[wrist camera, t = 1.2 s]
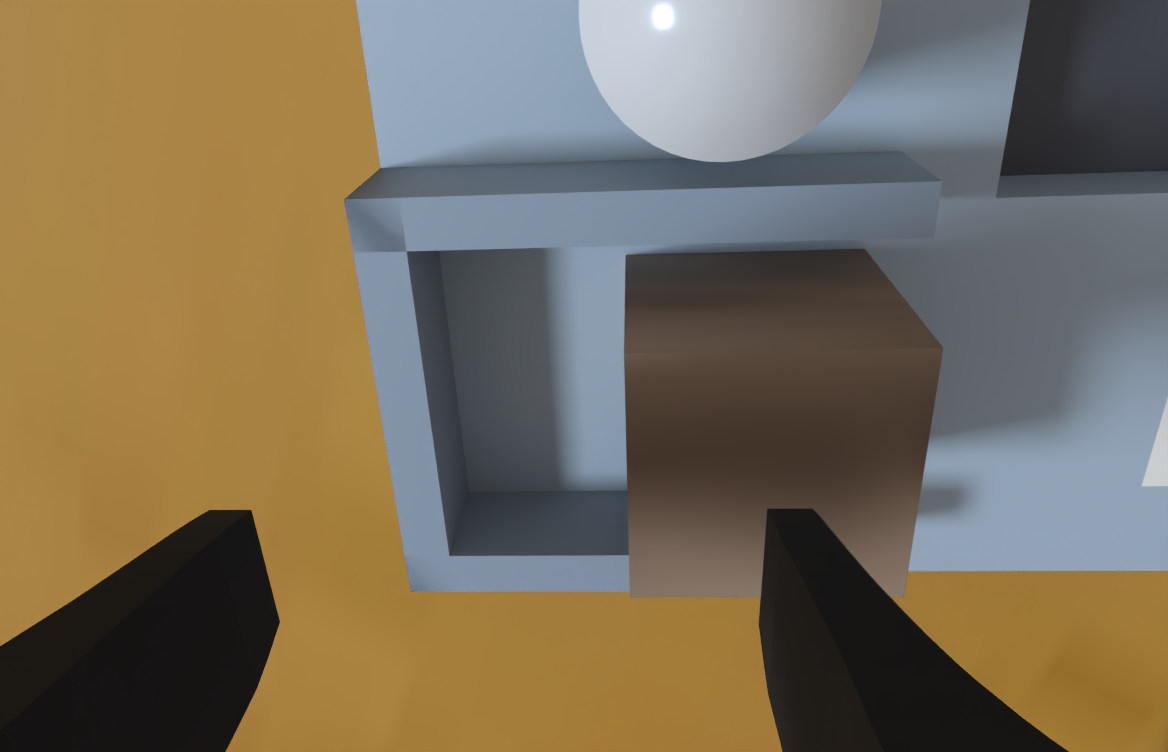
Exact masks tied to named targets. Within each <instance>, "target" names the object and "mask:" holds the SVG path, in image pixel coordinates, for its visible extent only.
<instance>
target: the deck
mask: <svg viewBox="0 0 1168 752" xmlns="http://www.w3.org/2000/svg"><path fill="white" fill-rule="evenodd" d="M356 4H357V11H358V18H359V25H360V31H361V38H362V45H363V52H364V58H365V65H366V72H367V79H368V85H369V92H370V99H371V106H372V112H373V119H374V126H375V133H376V139H377V146H378V153H379V160H380V166H381V168H380V169H379V170H378V171H377V172H376V173H375V174H373V175H372V176H371V177H370V178H369V179H368V180H366V181H365V182H364V183H363V184H362V185H361V186H359V187H358V188H357V189H356V190H355V191H354V192H352V193H351V194H350V195H349V196H348V197H347V198H345V199H344V201H345V207H346V213H347V219H348V225H349V230H350V236H351V242H352V248H353V254H354V260H355V266H356V272H357V278H358V283H359V289H360V295H361V301H362V307H363V313H364V319H365V325H366V331H367V336H368V342H369V348H370V354H371V360H372V366H373V372H374V378H375V384H376V389H377V395H378V401H379V407H380V413H381V419H382V425H383V431H384V437H385V443H386V448H387V454H388V460H389V466H390V472H391V478H392V484H393V490H394V496H395V501H396V507H397V513H398V519H399V525H400V531H401V537H402V543H403V549H404V554H405V560H406V566H407V572H408V578H409V584H410V590H411V592H453V591H630V582H629V541H628V500H627V459H626V418H625V377H624V319H625V257H626V255H642V254H681V253H720V252H759V251H798V250H837V249H865V250H866V251H867V252H868V254H869V255H870V256H871V257H872V259H873V260H874V261H875V262H876V264H877V265H878V266H879V267H880V269H881V270H882V271H883V272H884V274H885V275H886V276H887V277H888V279H889V280H890V281H891V282H892V284H893V285H894V286H895V287H896V289H897V290H898V291H899V292H900V294H901V295H902V296H903V298H904V299H905V300H906V301H907V303H908V304H909V305H910V306H911V308H912V309H913V310H914V311H915V313H916V314H917V315H918V316H919V318H920V319H921V320H922V321H923V323H924V324H925V325H926V326H927V328H928V329H929V330H930V331H931V333H932V334H933V335H934V336H935V338H936V339H937V340H938V342H939V343H940V344H941V345H942V347H943V354H942V361H941V367H940V373H939V379H938V386H937V392H936V398H935V405H934V411H933V417H932V424H931V430H930V436H929V443H928V449H927V455H926V462H925V468H924V474H923V480H922V487H921V493H920V499H919V506H918V512H917V518H916V525H915V531H914V537H913V544H912V550H911V556H910V563H909V569H908V571H1168V0H882V5H881V11H880V17H879V23H878V28H877V31H876V35H875V38H874V42H873V45H872V48H871V50H870V53H869V55H868V57H867V60H866V62H865V65H864V67H863V69H862V70H861V72H860V74H859V76H858V78H857V79H856V81H855V83H854V85H853V86H852V87H851V89H850V90H849V92H848V93H847V94H846V96H845V97H844V98H843V100H842V101H841V102H840V103H839V105H838V106H837V107H836V108H835V109H834V110H833V111H832V112H831V113H830V114H829V115H828V117H826V118H825V119H824V120H823V121H822V122H821V123H819V124H818V125H817V126H816V127H815V128H814V129H812V130H811V131H810V132H808V133H807V134H805V135H804V136H802V137H801V138H799V139H798V140H796V141H794V142H792V143H791V144H789V145H787V146H785V147H783V148H781V149H779V150H776V151H773V152H771V153H768V154H765V155H763V156H759V157H755V158H751V159H746V160H741V161H731V162H705V161H699V160H693V159H687V158H684V157H681V156H678V155H675V154H671V153H669V152H667V151H665V150H662V149H660V148H658V147H656V146H654V145H652V144H651V143H649V142H648V141H646V140H644V139H643V138H641V137H640V136H638V135H637V134H636V133H635V132H634V131H632V130H631V129H630V128H629V127H628V126H627V125H625V124H624V123H623V122H622V120H621V119H620V118H619V117H618V116H617V115H616V114H615V113H614V112H613V110H612V109H611V108H610V106H609V105H608V103H607V102H606V101H605V99H604V98H603V96H602V95H601V93H600V91H599V89H598V87H597V85H596V83H595V81H594V79H593V77H592V75H591V72H590V69H589V67H588V64H587V61H586V58H585V54H584V50H583V46H582V41H581V35H580V26H579V0H356Z"/></svg>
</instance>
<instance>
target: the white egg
mask: <svg viewBox="0 0 1168 752" xmlns="http://www.w3.org/2000/svg"><path fill="white" fill-rule="evenodd" d="M881 5H882V0H579V26H580V35H581V41H582V46H583V50H584V54H585V58H586V61H587V64H588V67H589V69H590V72H591V75H592V77H593V79H594V81H595V83H596V85H597V87H598V89H599V91H600V93H601V95H602V96H603V98H604V99H605V101H606V102H607V103H608V105H609V106H610V108H611V109H612V110H613V112H614V113H615V114H616V115H617V116H618V117H619V118H620V119H621V120H622V122H623V123H624V124H625V125H627V126H628V127H629V128H630V129H631V130H632V131H634V132H635V133H636V134H637V135H638V136H640V137H641V138H643V139H644V140H646V141H648V142H649V143H651V144H652V145H654V146H656V147H658V148H660V149H662V150H665V151H667V152H669V153H671V154H675V155H678V156H681V157H684V158H687V159H693V160H699V161H705V162H731V161H741V160H746V159H751V158H755V157H759V156H763V155H765V154H768V153H771V152H773V151H776V150H779V149H781V148H783V147H785V146H787V145H789V144H791V143H792V142H794V141H796V140H798V139H799V138H801V137H802V136H804V135H805V134H807V133H808V132H810V131H811V130H812V129H814V128H815V127H816V126H817V125H818V124H819V123H821V122H822V121H823V120H824V119H825V118H826V117H828V115H829V114H830V113H831V112H832V111H833V110H834V109H835V108H836V107H837V106H838V105H839V103H840V102H841V101H842V100H843V98H844V97H845V96H846V94H847V93H848V92H849V90H850V89H851V87H852V86H853V85H854V83H855V81H856V79H857V78H858V76H859V74H860V72H861V70H862V69H863V67H864V65H865V62H866V60H867V57H868V55H869V53H870V50H871V48H872V45H873V42H874V38H875V35H876V31H877V28H878V23H879V17H880V11H881Z"/></svg>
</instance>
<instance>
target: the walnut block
mask: <svg viewBox="0 0 1168 752" xmlns="http://www.w3.org/2000/svg"><path fill="white" fill-rule="evenodd" d="M942 354H943V347H942V345H941V344H940V343H939V342H938V340H937V339H936V338H935V336H934V335H933V334H932V333H931V331H930V330H929V329H928V328H927V326H926V325H925V324H924V323H923V321H922V320H921V319H920V318H919V316H918V315H917V314H916V313H915V311H914V310H913V309H912V308H911V306H910V305H909V304H908V303H907V301H906V300H905V299H904V298H903V296H902V295H901V294H900V292H899V291H898V290H897V289H896V287H895V286H894V285H893V284H892V282H891V281H890V280H889V279H888V277H887V276H886V275H885V274H884V272H883V271H882V270H881V269H880V267H879V266H878V265H877V264H876V262H875V261H874V260H873V259H872V257H871V256H870V255H869V254H868V252H867V251H866V250H865V249H837V250H798V251H759V252H720V253H681V254H642V255H626V257H625V319H624V377H625V418H626V459H627V500H628V541H629V582H630V597H761V588H762V574H763V560H764V546H765V532H766V518H767V509H811V508H813V509H814V510H815V511H816V512H817V513H818V514H819V515H820V516H821V518H822V519H823V520H824V521H825V523H826V524H827V525H828V526H829V527H830V529H831V530H832V531H833V532H834V533H835V535H836V536H837V537H838V538H839V539H840V541H841V542H842V543H843V544H844V545H845V547H846V548H847V549H848V550H849V551H850V553H851V554H852V555H853V556H854V557H855V558H856V560H857V561H858V562H859V563H860V564H861V565H862V566H863V568H864V569H865V570H866V571H867V572H868V573H869V574H870V576H871V577H872V578H873V579H874V580H875V581H876V582H877V583H878V584H879V586H880V587H881V588H882V589H883V590H884V591H885V592H886V593H887V594H888V595H889V596H890V597H904V594H905V588H906V581H907V575H908V569H909V563H910V556H911V550H912V544H913V537H914V531H915V525H916V518H917V512H918V506H919V499H920V493H921V487H922V480H923V474H924V468H925V462H926V455H927V449H928V443H929V436H930V430H931V424H932V417H933V411H934V405H935V398H936V392H937V386H938V379H939V373H940V367H941V361H942Z"/></svg>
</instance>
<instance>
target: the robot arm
mask: <svg viewBox="0 0 1168 752" xmlns="http://www.w3.org/2000/svg"><path fill="white" fill-rule="evenodd" d="M279 623H280V621H279V617H278V613H277V609H276V605H275V601H274V597H273V593H272V589H271V586H270V582H269V578H268V574H267V570H266V566H265V562H264V558H263V554H262V550H261V546H260V542H259V538H258V535H257V531H256V527H255V523H254V519H253V515H252V511H251V510H209V511H207V512H206V513H204V514H202V515H200V516H199V517H197V518H195V519H194V520H192V521H190V522H189V523H187V524H186V525H184V526H183V527H181V528H179V529H178V530H176V531H175V532H173V533H172V534H170V535H169V536H167V537H166V538H164V539H163V540H161V541H160V542H159V543H157V544H156V545H154V546H153V547H151V548H150V549H148V550H147V551H145V552H144V553H142V554H141V555H139V556H138V557H137V558H135V559H134V560H132V561H131V562H129V563H128V564H126V565H125V566H123V567H122V568H120V569H119V570H117V571H116V572H114V573H113V574H112V575H110V576H109V577H107V578H106V579H104V580H103V581H101V582H100V583H98V584H97V585H95V586H94V587H92V588H91V589H89V590H88V591H86V592H85V593H83V594H82V595H80V596H79V597H77V598H76V599H74V600H73V601H71V602H70V603H68V604H67V605H65V606H63V607H62V608H60V609H59V610H57V611H55V612H54V613H52V614H51V615H49V616H48V617H46V618H44V619H43V620H41V621H40V622H38V623H36V624H35V625H33V626H32V627H30V628H29V629H27V630H25V631H24V632H22V633H21V634H19V635H17V636H16V637H14V638H13V639H11V640H10V641H8V642H6V643H5V644H3V645H2V646H0V752H225V751H226V749H227V748H228V746H229V744H230V742H231V740H232V738H233V736H234V734H235V732H236V730H237V728H238V726H239V724H240V722H241V720H242V718H243V716H244V714H245V712H246V710H247V708H248V706H249V703H250V701H251V699H252V697H253V695H254V693H255V691H256V689H257V687H258V684H259V681H260V678H261V676H262V673H263V670H264V667H265V665H266V662H267V659H268V656H269V653H270V650H271V647H272V644H273V641H274V638H275V635H276V632H277V629H278V626H279ZM759 629H760V637H761V645H762V653H763V660H764V668H765V675H766V682H767V689H768V695H769V699H770V703H771V707H772V711H773V715H774V719H775V723H776V727H777V731H778V735H779V739H780V743H781V747H782V751H783V752H1068V751H1067V750H1065V749H1064V748H1063V747H1061V746H1060V745H1058V744H1057V743H1055V742H1054V741H1053V740H1051V739H1050V738H1048V737H1047V736H1046V735H1044V734H1043V733H1042V732H1040V731H1039V730H1038V729H1036V728H1035V727H1034V726H1032V725H1031V724H1030V723H1028V722H1027V721H1026V720H1025V719H1023V718H1022V717H1021V716H1019V715H1018V714H1017V713H1016V712H1014V711H1013V710H1012V709H1011V708H1010V707H1008V706H1007V705H1006V704H1005V703H1003V702H1002V701H1001V700H1000V699H998V698H997V697H996V696H995V695H994V694H992V693H991V692H990V691H989V690H987V689H986V688H985V687H984V686H982V685H981V684H980V683H979V682H978V681H976V680H975V679H974V678H973V677H972V676H971V675H969V674H968V673H967V672H966V671H965V670H964V669H963V668H961V667H960V666H959V665H958V664H957V663H956V662H955V661H954V660H953V659H952V658H951V657H950V656H949V655H947V654H946V653H945V652H944V651H943V650H942V649H941V648H940V647H939V646H938V645H937V644H936V643H935V642H934V641H933V640H932V639H931V638H930V637H929V636H927V635H926V634H925V633H924V632H923V631H922V630H921V628H920V627H919V626H918V625H917V624H916V623H915V622H914V621H913V620H912V619H911V618H910V617H909V616H908V615H907V614H906V613H905V612H904V611H903V610H902V609H901V608H900V607H899V606H898V605H897V604H896V603H895V602H894V600H893V599H892V598H891V597H890V596H889V595H888V594H887V593H886V592H885V591H884V590H883V589H882V588H881V587H880V586H879V584H878V583H877V582H876V581H875V580H874V579H873V578H872V577H871V576H870V574H869V573H868V572H867V571H866V570H865V569H864V568H863V566H862V565H861V564H860V563H859V562H858V561H857V560H856V558H855V557H854V556H853V555H852V554H851V553H850V551H849V550H848V549H847V548H846V547H845V545H844V544H843V543H842V542H841V541H840V539H839V538H838V537H837V536H836V535H835V533H834V532H833V531H832V530H831V529H830V527H829V526H828V525H827V524H826V523H825V521H824V520H823V519H822V518H821V516H820V515H819V514H818V513H817V512H816V511H815V510H814V509H813V508H811V509H767V518H766V532H765V546H764V560H763V574H762V588H761V602H760V616H759Z"/></svg>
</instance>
